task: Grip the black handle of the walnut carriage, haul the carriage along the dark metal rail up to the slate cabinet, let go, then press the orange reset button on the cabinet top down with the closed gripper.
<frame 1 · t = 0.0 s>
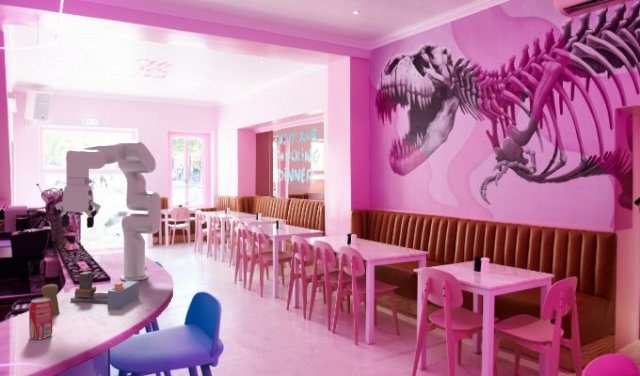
hand: (77, 227, 169), 31 cm above the bar counter, tool pointing down, fingers open, 9 cm apart
carriage: (85, 284, 179), point 7 cm above the bar counter, slide at 0.0 cm
beverage can: (41, 337, 141), on the bar counter
reset button: (118, 291, 172), point 6 cm above the bar counter, slide at 0.0 cm
rail: (97, 300, 179), on the bar counter
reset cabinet: (123, 303, 176), on the bar counter
cork: (50, 315, 161), on the bar counter
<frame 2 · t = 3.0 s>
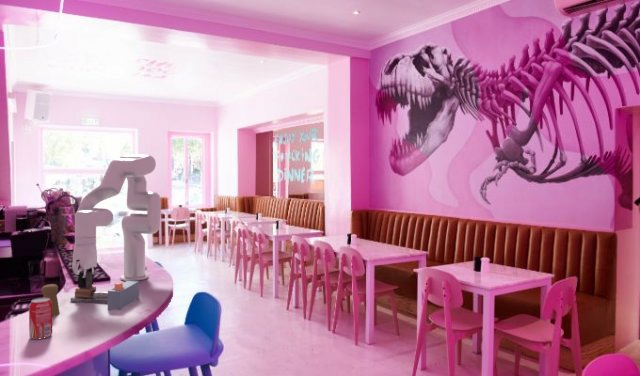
hand: (85, 285, 179), 6 cm above the bar counter, tool pointing down, fingers closed on carriage, 4 cm apart
carriage: (85, 284, 179), point 7 cm above the bar counter, slide at 0.0 cm, touching gripper
everything else where it was.
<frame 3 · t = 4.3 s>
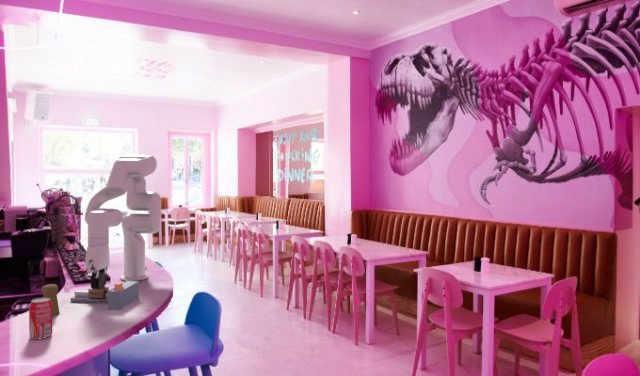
hand: (98, 285, 178), 6 cm above the bar counter, tool pointing down, fingers closed on carriage, 4 cm apart
carriage: (98, 284, 178), point 7 cm above the bar counter, slide at 5.3 cm, touching gripper
everything else where it was.
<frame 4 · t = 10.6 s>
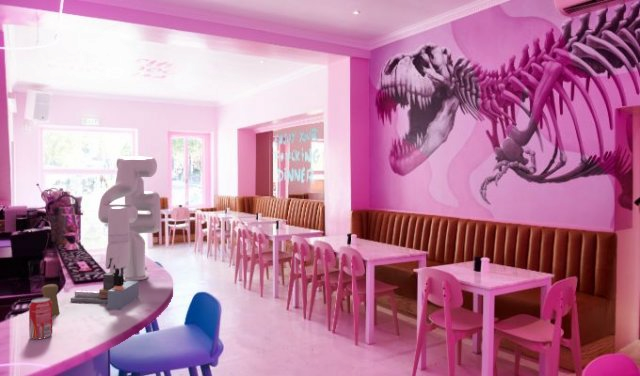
hand: (118, 285, 171), 8 cm above the bar counter, tool pointing down, fingers closed
carriage: (109, 285, 178), point 7 cm above the bar counter, slide at 10.0 cm
reset button: (118, 292, 172), point 5 cm above the bar counter, slide at 0.7 cm, touching gripper
everything else where it was.
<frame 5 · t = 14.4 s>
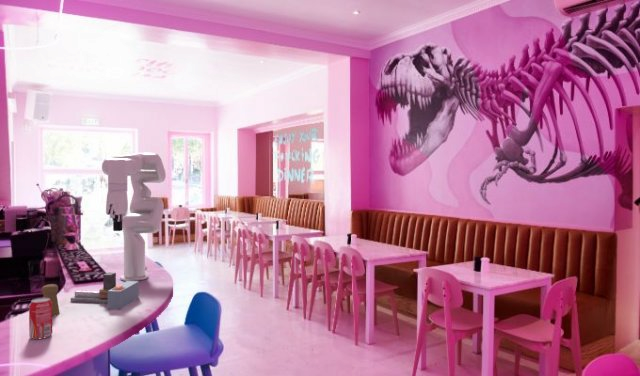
hand: (117, 230, 188), 27 cm above the bar counter, tool pointing down, fingers closed
reset button: (118, 294, 172), point 5 cm above the bar counter, slide at 1.2 cm
everything else where it was.
at the end: carriage slide at 10.0 cm; reset button slide at 1.2 cm; the gripper is holding nothing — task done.
